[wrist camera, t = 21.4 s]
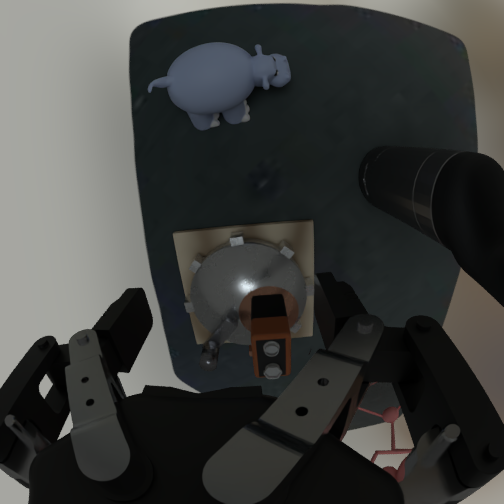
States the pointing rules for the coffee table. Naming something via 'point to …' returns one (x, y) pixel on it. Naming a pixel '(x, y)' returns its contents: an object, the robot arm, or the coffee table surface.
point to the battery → (270, 336)
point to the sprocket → (242, 289)
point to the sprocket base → (274, 232)
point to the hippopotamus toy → (220, 81)
